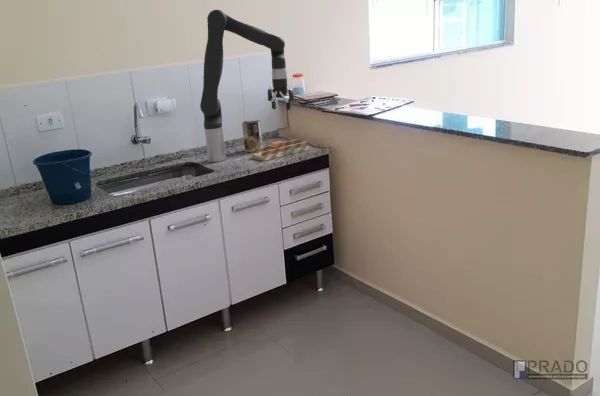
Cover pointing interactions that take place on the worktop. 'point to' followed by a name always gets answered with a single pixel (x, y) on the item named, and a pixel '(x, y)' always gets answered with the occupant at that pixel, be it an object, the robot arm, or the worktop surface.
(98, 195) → the worktop surface
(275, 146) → the block
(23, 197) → the worktop surface
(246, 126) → the coffee box
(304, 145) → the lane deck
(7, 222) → the worktop surface
